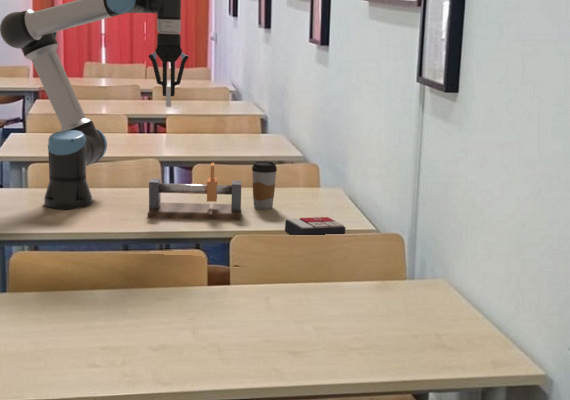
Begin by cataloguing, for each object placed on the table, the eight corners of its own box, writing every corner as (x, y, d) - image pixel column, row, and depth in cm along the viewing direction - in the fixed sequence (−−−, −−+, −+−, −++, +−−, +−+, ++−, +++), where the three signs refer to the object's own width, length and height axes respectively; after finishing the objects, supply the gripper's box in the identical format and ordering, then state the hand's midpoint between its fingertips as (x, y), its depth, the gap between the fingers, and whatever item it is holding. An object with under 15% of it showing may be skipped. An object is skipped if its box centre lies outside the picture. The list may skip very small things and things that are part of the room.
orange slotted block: (206, 201, 259) (207, 166, 256) (207, 196, 265) (208, 162, 263) (216, 201, 259) (217, 166, 257) (217, 196, 265) (217, 162, 263)
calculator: (346, 224, 244) (302, 226, 237) (345, 238, 245) (300, 240, 238) (328, 215, 254) (285, 217, 247) (327, 229, 255) (284, 231, 248)
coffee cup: (279, 206, 276) (281, 162, 272) (268, 211, 269) (270, 166, 265) (257, 203, 279) (259, 160, 276) (246, 208, 272) (247, 163, 268)
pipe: (149, 209, 259) (149, 182, 257) (151, 205, 265) (151, 178, 263) (240, 212, 261) (241, 184, 259) (240, 207, 266) (241, 180, 264)
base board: (147, 217, 256) (147, 212, 255) (152, 206, 269) (152, 202, 269) (240, 220, 257) (240, 215, 257) (240, 208, 271) (240, 204, 270)
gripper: (147, 32, 259) (147, 107, 264) (188, 34, 260) (187, 108, 265) (149, 31, 266) (149, 104, 272) (190, 33, 267) (189, 105, 272)
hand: (168, 106), depth 268 cm, fingers closed
